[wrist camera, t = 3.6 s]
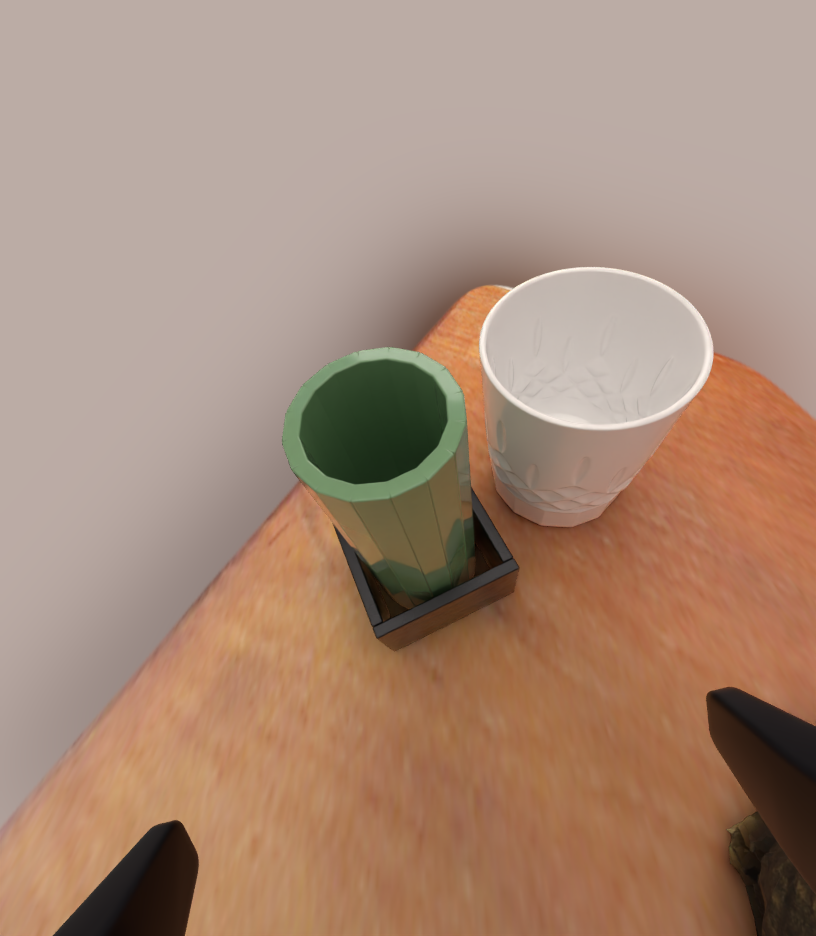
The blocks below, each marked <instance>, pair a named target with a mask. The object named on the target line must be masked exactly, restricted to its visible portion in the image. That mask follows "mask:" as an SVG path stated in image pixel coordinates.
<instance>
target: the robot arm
mask: <svg viewBox="0 0 816 936" xmlns="http://www.w3.org/2000/svg"><path fill="white" fill-rule="evenodd" d="M706 702H707V712H708V722H709V731H710V735H711V738H712V740H713V742H714V744H715V746H716V748H717V750H718V751H719V753H720V754H721V756H722V757H723V759H724V760H725V762H726V763H727V765H728V766H729V768H730V770H731V771H732V773H733V774H734V776H735V777H736V779H737V780H738V782H739V783H740V785H741V787H742V788H743V790H744V791H745V793H746V794H747V796H748V797H749V799H750V800H751V802H752V803H753V805H754V807H755V808H756V810H757V811H758V813H759V814H760V816H761V817H762V819H763V820H764V822H765V824H766V825H767V827H768V828H769V830H770V831H771V833H772V834H773V836H774V837H775V839H776V840H777V842H778V843H779V845H780V846H781V848H782V849H783V851H784V852H785V854H786V855H787V857H788V858H789V859H790V861H791V862H792V863H793V865H794V866H795V867H796V869H797V870H798V872H799V873H800V874H801V876H802V877H803V878H804V880H805V881H806V882H807V884H808V885H809V886H810V887H811V889H812V890H813V891H814V893H815V894H816V726H814V725H812V724H810V723H808V722H805V721H803V720H801V719H799V718H797V717H795V716H793V715H791V714H789V713H787V712H785V711H783V710H781V709H779V708H777V707H775V706H773V705H771V704H769V703H767V702H764V701H762V700H760V699H758V698H756V697H754V696H752V695H750V694H748V693H746V692H744V691H742V690H740V689H737V688H734V687H726V688H722V689H718V690H714V691H710V692H708V694H707V696H706ZM198 867H199V860H198V854H197V851H196V849H195V847H194V845H193V843H192V841H191V839H190V837H189V835H188V833H187V831H186V830H185V828H184V826H183V824H182V823H181V822H180V821H178V820H174V821H170V822H166V823H162V824H158V825H156V826H154V827H152V828H151V829H150V830H149V831H148V832H147V833H146V834H145V835H144V836H143V837H142V838H141V840H140V841H139V842H138V843H137V844H136V845H135V846H134V847H133V848H132V849H131V850H130V852H129V853H128V854H127V855H126V856H125V857H124V858H123V859H122V860H121V861H120V863H119V864H118V865H117V866H116V867H115V868H114V869H113V870H112V871H111V872H110V874H109V875H108V876H107V877H106V878H105V879H104V880H103V881H102V882H101V883H100V884H99V886H98V887H97V888H96V889H95V890H94V891H93V892H92V893H91V894H90V895H89V897H88V898H87V899H86V900H85V901H84V902H83V903H82V904H81V905H80V906H79V908H78V909H77V910H76V911H75V912H74V913H73V914H72V915H71V916H70V917H69V919H68V920H67V921H66V922H65V923H64V924H63V925H62V926H61V927H60V928H59V929H58V931H57V932H56V933H55V934H54V935H53V936H185V932H186V928H187V923H188V918H189V913H190V908H191V903H192V899H193V894H194V889H195V884H196V879H197V874H198Z"/></svg>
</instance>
